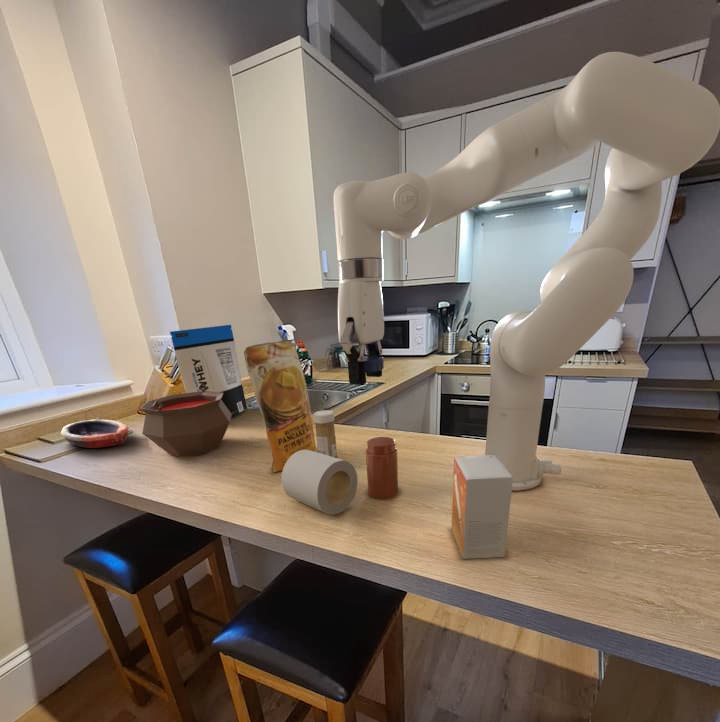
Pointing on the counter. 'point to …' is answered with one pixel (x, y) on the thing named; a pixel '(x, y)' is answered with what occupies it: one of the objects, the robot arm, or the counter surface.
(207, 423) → the brown faceted pot
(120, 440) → the dish
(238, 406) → the protein powder
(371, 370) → the lid
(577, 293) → the robot arm
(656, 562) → the counter surface
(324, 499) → the toilet paper
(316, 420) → the sprinkles bottle
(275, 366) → the pancake mix bag
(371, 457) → the jar
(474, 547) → the small box
